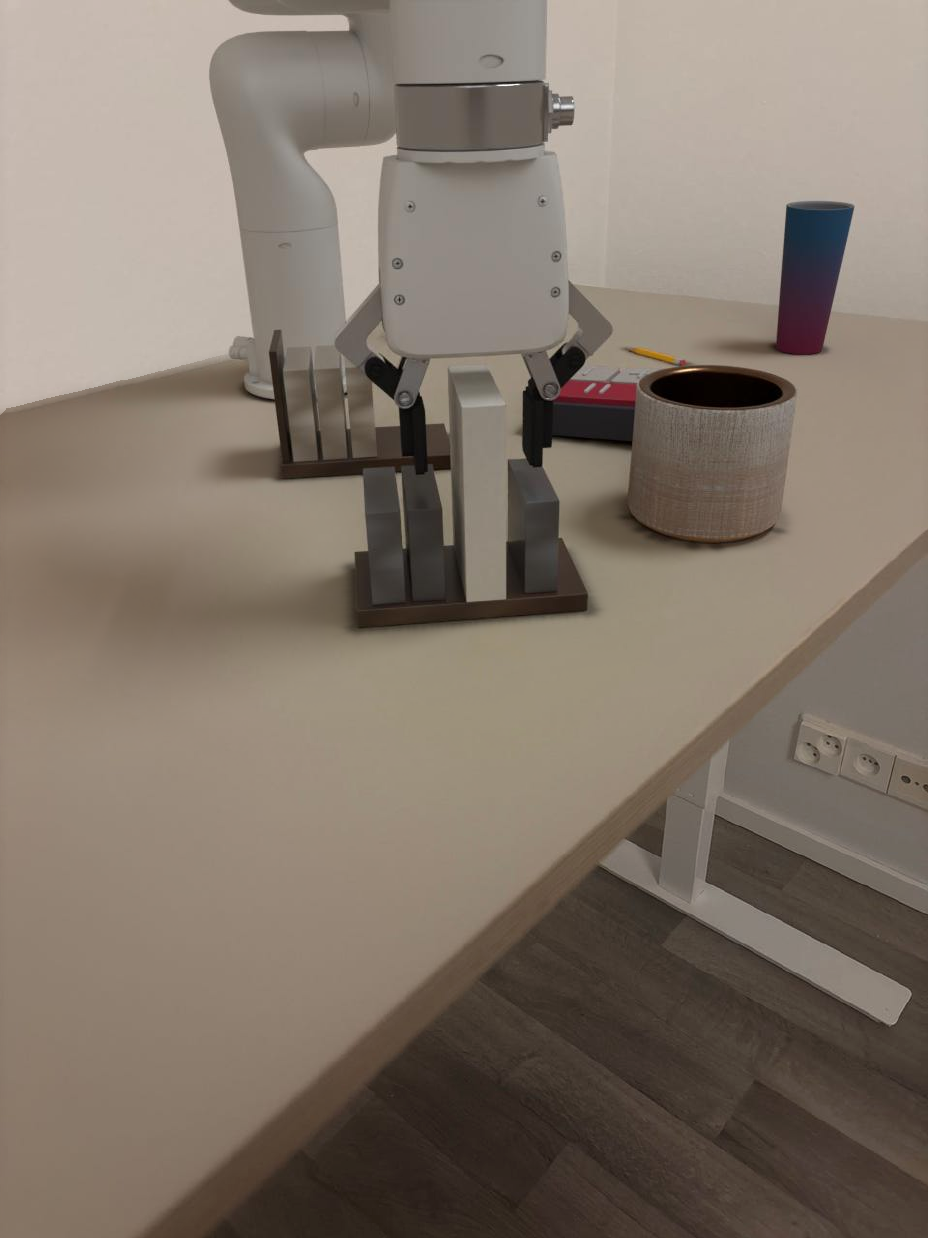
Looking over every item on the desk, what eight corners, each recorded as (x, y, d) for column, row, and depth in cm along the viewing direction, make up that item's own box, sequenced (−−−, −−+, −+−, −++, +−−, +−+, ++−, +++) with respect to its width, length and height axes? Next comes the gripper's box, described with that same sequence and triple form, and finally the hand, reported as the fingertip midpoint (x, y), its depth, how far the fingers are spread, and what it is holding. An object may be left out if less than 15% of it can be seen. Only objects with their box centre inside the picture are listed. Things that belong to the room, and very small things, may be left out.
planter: (596, 511, 72) (602, 383, 67) (694, 475, 77) (706, 355, 72) (710, 562, 64) (727, 422, 59) (810, 518, 70) (832, 387, 65)
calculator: (569, 360, 93) (727, 367, 87) (570, 404, 95) (724, 414, 89) (527, 393, 85) (698, 403, 79) (529, 440, 87) (695, 453, 81)
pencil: (680, 367, 104) (681, 360, 104) (624, 351, 110) (624, 345, 110) (685, 366, 105) (686, 359, 104) (629, 350, 111) (629, 344, 110)
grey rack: (357, 628, 58) (347, 517, 54) (355, 567, 65) (346, 466, 61) (587, 610, 59) (592, 501, 55) (561, 552, 66) (564, 452, 62)
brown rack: (282, 478, 79) (266, 353, 74) (287, 445, 86) (273, 328, 80) (453, 468, 80) (449, 344, 75) (444, 435, 87) (440, 320, 82)
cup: (837, 344, 110) (861, 202, 102) (821, 359, 105) (845, 210, 97) (777, 338, 113) (796, 199, 106) (759, 351, 108) (778, 207, 101)
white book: (466, 602, 58) (461, 406, 52) (453, 544, 65) (447, 366, 59) (506, 599, 58) (506, 404, 52) (488, 542, 65) (486, 363, 59)
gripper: (620, 115, 53) (603, 433, 62) (300, 126, 51) (331, 449, 60) (659, 123, 46) (634, 477, 55) (294, 135, 45) (330, 497, 54)
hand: (476, 460), depth 58 cm, fingers open, 6 cm apart
